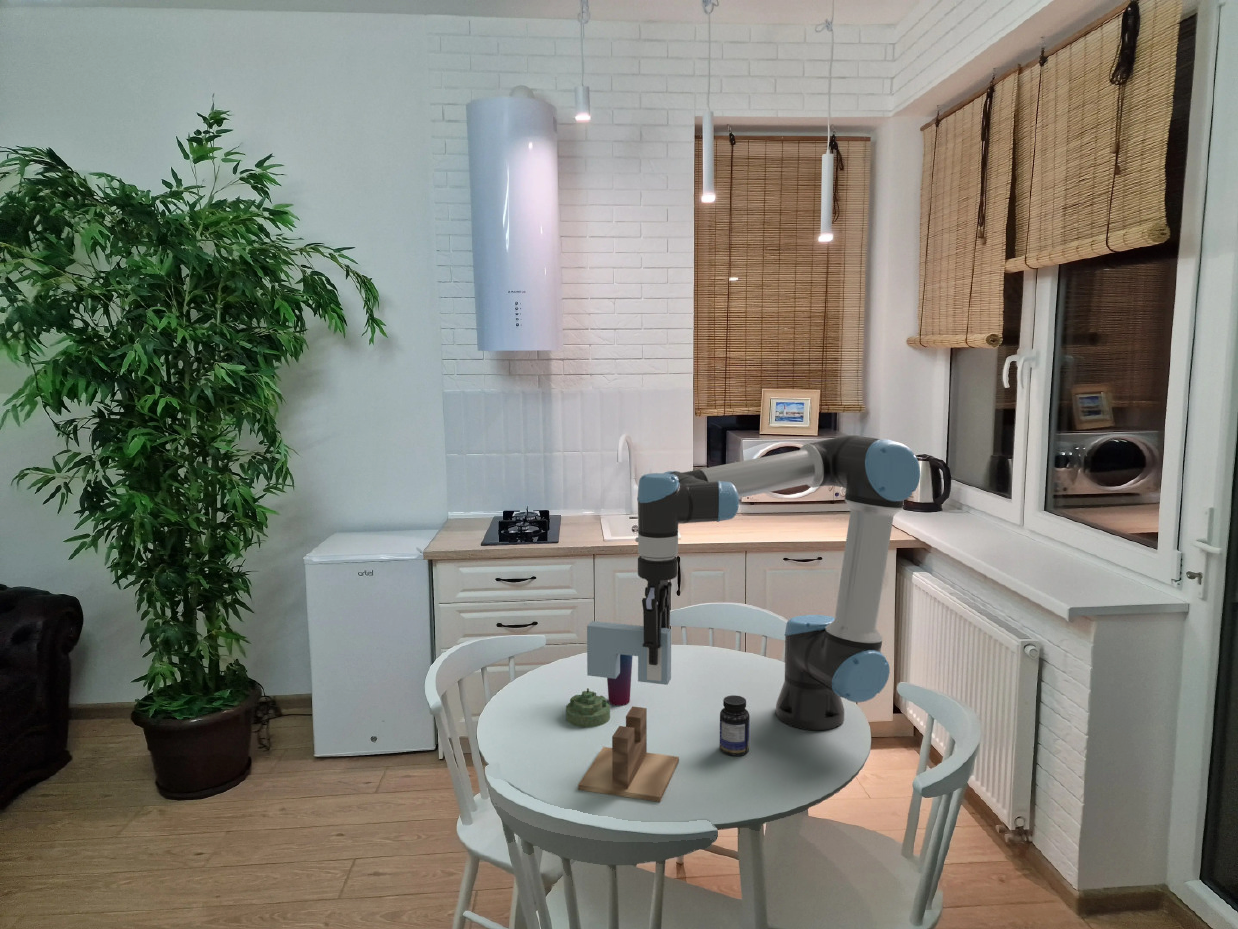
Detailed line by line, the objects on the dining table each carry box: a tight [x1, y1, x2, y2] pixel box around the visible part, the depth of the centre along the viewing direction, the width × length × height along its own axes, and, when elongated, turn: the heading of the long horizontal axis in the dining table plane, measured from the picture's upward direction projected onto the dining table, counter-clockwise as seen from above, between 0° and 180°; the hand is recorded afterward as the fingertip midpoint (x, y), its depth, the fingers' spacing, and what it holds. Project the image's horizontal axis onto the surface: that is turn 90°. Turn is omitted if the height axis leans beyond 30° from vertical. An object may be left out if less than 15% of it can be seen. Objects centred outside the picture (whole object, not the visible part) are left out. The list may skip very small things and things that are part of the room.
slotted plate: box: [586, 620, 672, 686], centre depth 161 cm, size 16×3×10 cm, turn 73°
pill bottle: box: [719, 694, 750, 757], centre depth 173 cm, size 6×6×11 cm
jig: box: [577, 705, 680, 803], centre depth 163 cm, size 16×16×11 cm
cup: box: [606, 654, 633, 706], centre depth 197 cm, size 7×7×15 cm
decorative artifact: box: [565, 688, 611, 728], centre depth 189 cm, size 10×7×10 cm
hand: (656, 675), depth 160 cm, fingers closed on slotted plate, 3 cm apart
